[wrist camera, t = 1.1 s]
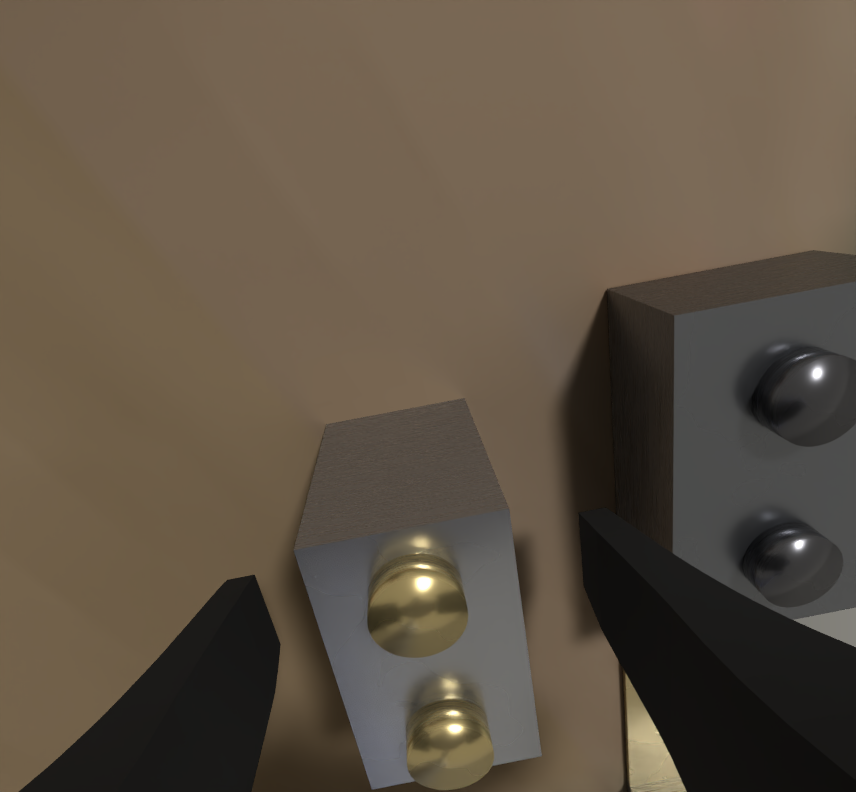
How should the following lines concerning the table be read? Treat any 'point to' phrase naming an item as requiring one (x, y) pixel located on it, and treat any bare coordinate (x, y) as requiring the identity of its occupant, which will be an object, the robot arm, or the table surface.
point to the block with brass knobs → (419, 597)
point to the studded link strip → (738, 440)
